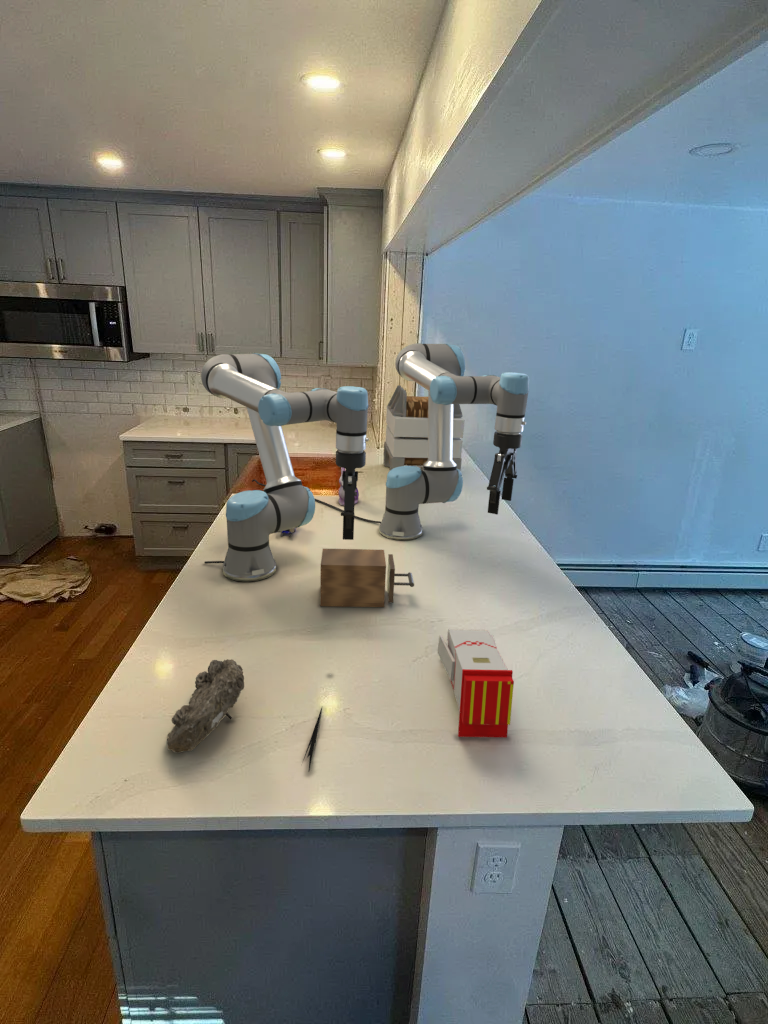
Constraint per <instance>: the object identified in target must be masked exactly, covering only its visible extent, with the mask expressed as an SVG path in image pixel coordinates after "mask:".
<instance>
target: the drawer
mask: <svg viewBox="0 0 768 1024" xmlns="http://www.w3.org/2000/svg"><path fill="white" fill-rule="evenodd" d="M395 577H407V579H408V582H399V581H397V582H395ZM395 586H407V587H410V588H413V587H415V581H414V577H413V573H412V572H411V571H410V572H408V573H396V565H395V560H394V554H393V553H392V554H391V553H388V555H387V570H386V593H387V601H388V603H390V604H391V603H392V604H393V603H394V593H395Z"/></svg>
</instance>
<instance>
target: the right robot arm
mask: <svg viewBox="0 0 768 1024" xmlns="http://www.w3.org/2000/svg"><path fill="white" fill-rule="evenodd" d="M394 364H395V365H394V366H395V370H396V372H397V374H398V375H399V376H400V377H401V378H402V379H404V380H405V381H407V382H414V383H416V384H417V385H419V386H421V388H424V389H425V390H427V391H428V395H427V397H428V460H427V461H426V462H425V463H424V465H423V466H422V467H423V470H422V469H421V467H420V466H407V465H404V466H400V467H396V468H393V469H392V470H390V469H389V470H388V472H387V475H386V482H385V504H384V505H385V507H384V508H385V509H384V513H383V515H382V519H381V521H380V520H372V519H368V518H364V517H360V516H356V515H355V514H354V519H358V520H361V521H364V522H368V523H373V524H379V526H378V533H379V534H380V535H381V536H382V537H385V538H387V539H389V540H395V541H410V540H415V539H418V538H420V537H421V536H422V535H423V525H422V524H421V518H420V515H419V507H420V505H425V504H426V505H427V504H441V503H442V504H446V503H451V502H455V501H457V499H458V498H459V497H460V496H461V493H462V491H463V485H464V479H463V473H462V470H461V471H460V470H458V469H457V465H456V464H455V463H454V462H453V460H452V451H453V404H459V405H494V406H496V414H495V422H494V430H495V431H494V433H493V441H492V445H493V446H494V447H496V448H498V449H499V450H498V452H496V453H494V458H493V465H492V467H491V468H492V469H491V473H490V477H489V480H488V481H489V482H488V485H487V486H486V490H487V491H489V497H488V504H487V513H488V514H492V515H498V514H499V509H500V508H499V507H500V499H501V500H503V501H508V502H511V501H512V498H513V489H514V482H515V481H514V480H515V479H517V478H518V473H517V450H518V449H520V448H521V447H522V444H523V431H524V426H526V425H527V421H525V417H526V412H527V410H526V409H527V406H528V405H527V404H528V399H529V398H528V397H529V392H530V388H529V387H530V385H529V384H530V376H529V375H528V374H526V373H522V372H514V371H513V372H511V371H507V372H506V371H505V372H502V373H501V375H500V376H498V375H495V374H485V375H472V376H470V375H467V376H466V375H465V372H466V358H465V355H464V352H463V351H462V349H461V347H459V345H456V344H450V343H420V342H419V343H418V342H417V343H411V344H409V345H406V346H405V347H403V348H402V349H401V350H400V351H399V352H398V354H397V356H396V357H395V363H394ZM251 482H253V483H254V482H255V483H256V484H257V485H259V486H262V487H265V486H266V484H264V483H261V482H259V481H258V480H257V479H255V478H254V479H252V480H251ZM502 483H503V484H502ZM501 488H502V491H501ZM314 499H315V502H318V503H320V504H324V505H325V506H327V507H330V508H333V509H335V510H337V511H339V512H340V513H344V509H341V508H339V507H337V506H335V505H333V504H330V503H328V502H325V501H322V500H320V499H317V498H315V497H314Z"/></svg>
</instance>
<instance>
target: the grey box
mask: <svg viewBox="0 0 768 1024" xmlns="http://www.w3.org/2000/svg"><path fill="white" fill-rule="evenodd" d="M407 394H408V393H407V390H406V389H404V388H403V387H402V385H399V384H398V385H397V386H396V388H395V390H394V392H393V394H392V395H391V398H390V400H389V402H388V404H387V405H386V413H385V414H386V415H385V423H386V428H385V438H384V442H383V466H384V467H388V468H389V471H390V470H392V469H393V468H396V467H400V466H416V467H423V465H424V463H425V462H426V461H427V460H428V396H415V395H414V396H413V395H412V396H411V395H407ZM464 429H465V419H464V418H463V411H462V408H461V404H453V451H452V460H453V462H454V463H455V464H456V465H457V469H458V470H460V471H461V472H462V461H463V460H462V453H463V442H464V441H463V440H462V439H463V438H464V431H465V430H464Z"/></svg>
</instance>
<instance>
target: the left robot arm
mask: <svg viewBox="0 0 768 1024" xmlns="http://www.w3.org/2000/svg"><path fill="white" fill-rule="evenodd" d="M281 373H282V372H281V370H280V367H279V365H278V363H277V362H276V360H275V359H274V358H273V357H272V356H270V355H269V354H267V353H266V354H265V353H257V352H251V353H233V354H231V353H230V354H227V353H223V354H218V355H215V356H213V357H211V358H209V359H208V360H206V362H205V363H204V364H203V366H202V368H201V373H200V380H201V383H202V385H203V388H204V389H205V390H206V391H207V392H208V393H209V394H211V395H213V396H214V397H216V398H218V399H228V400H231V401H233V402H235V403H237V404H238V405H239V404H240V405H241V406H243V407H245V408H246V410H247V414H248V417H249V421H250V425H251V429H252V433H253V436H254V440H255V444H256V448H257V452H258V456H259V460H260V462H261V463H260V464H261V466H262V470H263V474H264V477H265V482H266V484H265V485H266V486H264V487H263V489H262V490H260V489H252V490H243V491H240V492H237V493H235V494H233V495H232V496H229V498H228V500H227V501H226V506H225V518H226V533H227V550H226V554H225V556H224V560H207V561H206V560H205V561H204V562H203V563H204V565H208V564H222V573H223V576H224V577H225V578H227V579H229V580H232V581H234V582H235V581H236V582H246V583H248V582H258V581H262V580H265V579H268V578H269V577H271V576H273V575H274V574H275V573H276V571H277V562H276V559H275V558H274V556H273V552H272V549H271V546H270V535H272V534H276V533H281V532H282V531H284V530H288V529H292V528H295V529H297V528H300V527H303V526H306V525H308V524H309V523H310V522H311V521H312V520H313V518H314V515H315V512H316V501H315V499H316V498H315V495H314V493H313V492H312V491H311V489H310V488H309V487H308V486H304V485H303V482H302V480H301V478H298V477H296V476H295V472H294V467H293V464H292V460H291V457H290V453H289V450H288V446H287V442H286V439H285V435H284V430H283V426H288V425H297V424H305V423H313V422H314V423H315V422H320V421H321V422H322V421H328V422H332V423H335V424H336V425H335V426H336V428H335V449H336V451H335V465H336V466H337V467H338V468H340V469H341V468H345V470H346V471H343V474H342V480H343V490H344V491H345V495H344V505H343V510H344V512H340V517H342V540H346V541H354V537H355V536H354V535H355V518H354V515H355V504H354V503H355V497H354V496H357V492H355V491H356V490H357V489H358V487H357V485H358V481H359V471H358V470H357V471H356V469H362V468H364V467H365V466H366V462H367V461H366V460H367V458H366V457H367V452H366V449H367V442H369V440H370V438H369V437H367V433H368V432H367V430H368V413H369V411H368V410H369V397H368V396H369V395H368V394H369V393H368V390H367V389H366V388H365V387H362V386H352V385H345V386H344V385H343V386H340V387H338V388H337V391H334V390H330V389H328V388H324V387H323V388H322V387H321V388H320V387H315V388H312V389H311V390H309V391H295V392H286V391H284V390H282V389H280V388H281V386H282V381H281V380H282V374H281ZM314 498H315V499H314ZM280 531H281V532H280Z"/></svg>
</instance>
